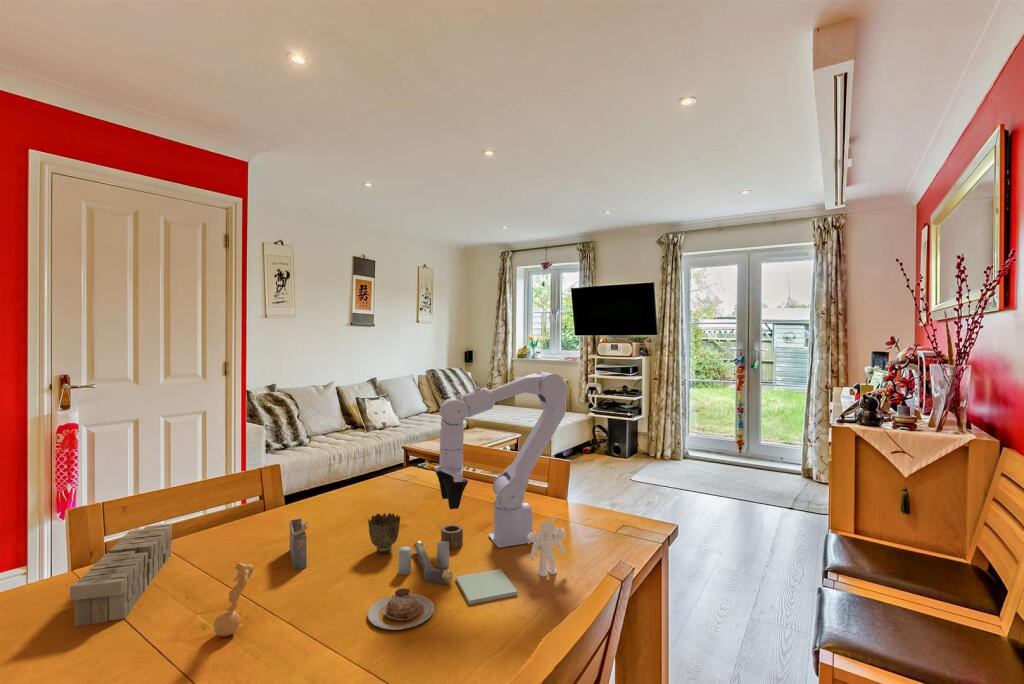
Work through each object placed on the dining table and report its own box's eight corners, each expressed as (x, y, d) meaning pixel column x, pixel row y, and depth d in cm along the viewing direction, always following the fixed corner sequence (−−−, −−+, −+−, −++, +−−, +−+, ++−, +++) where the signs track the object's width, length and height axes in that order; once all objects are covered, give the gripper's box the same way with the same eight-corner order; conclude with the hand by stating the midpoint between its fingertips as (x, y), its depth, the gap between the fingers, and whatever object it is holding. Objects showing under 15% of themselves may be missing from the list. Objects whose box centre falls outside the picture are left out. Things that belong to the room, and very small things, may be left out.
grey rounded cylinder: (409, 568, 109) (409, 545, 109) (411, 573, 107) (411, 550, 107) (397, 570, 108) (397, 547, 108) (399, 575, 106) (399, 552, 106)
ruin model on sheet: (308, 569, 109) (308, 525, 109) (293, 572, 108) (293, 528, 108) (303, 549, 119) (303, 509, 119) (289, 552, 118) (289, 511, 118)
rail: (435, 548, 120) (435, 536, 119) (454, 584, 102) (454, 571, 102) (411, 551, 118) (411, 540, 117) (427, 589, 100) (427, 575, 100)
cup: (391, 559, 113) (391, 525, 113) (362, 556, 115) (362, 522, 115) (405, 546, 121) (405, 513, 120) (377, 543, 122) (377, 511, 122)
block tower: (132, 564, 113) (66, 633, 85) (132, 527, 113) (67, 584, 85) (173, 559, 115) (122, 624, 88) (173, 523, 115) (122, 576, 88)
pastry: (401, 643, 83) (401, 616, 83) (353, 621, 90) (353, 596, 90) (447, 610, 93) (447, 586, 93) (400, 592, 100) (400, 570, 100)
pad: (500, 572, 108) (500, 568, 108) (517, 595, 98) (517, 591, 98) (455, 580, 104) (455, 576, 104) (469, 604, 95) (469, 600, 95)
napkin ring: (459, 539, 125) (459, 523, 125) (464, 547, 120) (464, 531, 120) (439, 542, 123) (439, 526, 123) (444, 550, 118) (444, 533, 118)
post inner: (447, 562, 112) (447, 540, 112) (450, 567, 110) (450, 545, 110) (436, 564, 111) (436, 542, 111) (438, 569, 109) (438, 546, 109)
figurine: (214, 625, 87) (214, 557, 87) (252, 616, 90) (252, 550, 90) (212, 651, 80) (212, 578, 80) (254, 640, 83) (254, 569, 83)
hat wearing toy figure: (561, 565, 111) (561, 512, 111) (569, 572, 108) (570, 518, 107) (524, 572, 108) (524, 517, 108) (531, 580, 104) (532, 523, 104)
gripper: (429, 442, 127) (428, 495, 127) (442, 455, 113) (440, 515, 113) (456, 441, 129) (454, 493, 129) (471, 454, 115) (470, 511, 116)
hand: (450, 503), depth 121 cm, fingers open, 7 cm apart
